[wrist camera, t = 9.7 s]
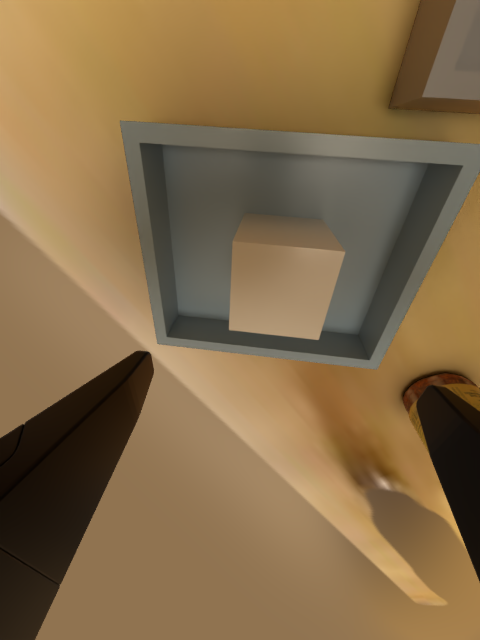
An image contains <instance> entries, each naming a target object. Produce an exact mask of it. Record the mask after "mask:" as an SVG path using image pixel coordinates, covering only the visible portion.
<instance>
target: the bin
mask: <svg viewBox="0 0 480 640" xmlns="http://www.w3.org/2000/svg"><path fill="white" fill-rule="evenodd" d="M120 126H121V132H122V137H123V143H124V149H125V155H126V161H127V167H128V173H129V179H130V185H131V191H132V196H133V202H134V208H135V214H136V220H137V226H138V232H139V238H140V244H141V250H142V256H143V261H144V267H145V273H146V279H147V285H148V291H149V297H150V303H151V309H152V315H153V320H154V326H155V332H156V338H157V344H161V345H170V346H178V347H187V348H196V349H204V350H213V351H221V352H230V353H239V354H247V355H256V356H264V357H273V358H282V359H290V360H299V361H308V362H316V363H325V364H333V365H342V366H351V367H359V368H368V369H376V370H377V369H378V367H379V365H380V363H381V361H382V359H383V357H384V355H385V353H386V351H387V349H388V347H389V346H390V344H391V342H392V340H393V338H394V336H395V334H396V332H397V330H398V328H399V326H400V324H401V322H402V320H403V319H404V317H405V315H406V313H407V311H408V309H409V307H410V305H411V303H412V301H413V299H414V297H415V295H416V293H417V292H418V290H419V288H420V286H421V284H422V282H423V280H424V278H425V276H426V274H427V272H428V270H429V268H430V266H431V265H432V263H433V261H434V259H435V257H436V255H437V253H438V251H439V249H440V247H441V245H442V243H443V241H444V239H445V238H446V236H447V234H448V232H449V230H450V228H451V226H452V224H453V222H454V220H455V218H456V216H457V214H458V212H459V211H460V209H461V207H462V205H463V203H464V201H465V199H466V197H467V195H468V193H469V191H470V189H471V187H472V185H473V183H474V182H475V180H476V178H477V176H478V174H479V172H480V144H470V143H455V142H440V141H424V140H409V139H394V138H379V137H363V136H348V135H333V134H318V133H302V132H287V131H272V130H257V129H241V128H226V127H211V126H196V125H180V124H165V123H150V122H135V121H120ZM245 213H251V214H263V215H274V216H286V217H298V218H310V219H321V220H324V222H325V223H326V225H327V226H328V227H329V229H330V230H331V232H332V233H333V235H334V236H335V237H336V239H337V240H338V242H339V243H340V245H341V246H342V247H343V249H344V250H345V255H344V258H343V262H342V265H341V268H340V271H339V275H338V278H337V281H336V285H335V288H334V291H333V294H332V298H331V301H330V304H329V308H328V311H327V314H326V317H325V321H324V324H323V327H322V331H321V334H320V337H319V340H314V339H305V338H296V337H287V336H278V335H269V334H260V333H251V332H242V331H233V330H229V316H230V291H231V267H232V243H233V239H234V237H235V235H236V232H237V230H238V228H239V225H240V223H241V221H242V218H243V216H244V214H245Z"/></svg>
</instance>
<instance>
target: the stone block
mask: <svg viewBox="0 0 480 640" xmlns="http://www.w3.org/2000/svg"><path fill="white" fill-rule="evenodd" d="M344 255H345V250H344V249H343V247H342V246H341V245H340V243H339V242H338V240H337V239H336V237H335V236H334V235H333V233H332V232H331V230H330V229H329V227H328V226H327V225H326V223H325V222H324V220H321V219H310V218H298V217H286V216H274V215H263V214H251V213H245V214H244V216H243V218H242V221H241V223H240V225H239V228H238V230H237V232H236V235H235V237H234V239H233V243H232V267H231V291H230V316H229V330H233V331H242V332H251V333H260V334H269V335H278V336H287V337H296V338H305V339H314V340H319V337H320V334H321V331H322V327H323V324H324V321H325V317H326V314H327V311H328V308H329V304H330V301H331V298H332V294H333V291H334V288H335V285H336V281H337V278H338V275H339V271H340V268H341V265H342V262H343V258H344Z"/></svg>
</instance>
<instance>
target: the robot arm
mask: <svg viewBox="0 0 480 640" xmlns="http://www.w3.org/2000/svg"><path fill="white" fill-rule="evenodd" d="M153 374H154V368H153V363H152V357H151V354H150V352H147V351H136V352H134V353H133V354H131V355H130V356H128V357H126V358H125V359H123V360H122V361H120V362H119V363H117V364H115V365H114V366H112V367H111V368H109V369H108V370H106V371H105V372H103V373H101V374H100V375H98V376H97V377H96V378H94V379H92V380H90V381H89V382H88V383H86V384H84V385H83V386H81V387H80V388H78V389H76V390H75V391H74V392H72V393H70V394H69V395H67V396H66V397H64V398H62V399H61V400H59V401H58V402H56V403H55V404H53V405H52V406H50V407H48V408H47V409H45V410H44V411H42V412H41V413H39V414H37V415H36V416H34V417H33V418H31V419H30V420H28V421H27V422H26V423H25V425H24V424H22V425H20V426H19V427H17V428H15V429H14V430H12V431H11V432H9V433H8V434H6V435H5V436H3V437H1V438H0V640H35V638H36V636H37V634H38V632H39V630H40V628H41V626H42V623H43V621H44V619H45V617H46V615H47V613H48V611H49V609H50V606H51V604H52V602H53V600H54V598H55V596H56V594H57V592H58V589H59V586H60V584H61V582H62V580H63V578H64V576H65V574H66V572H67V570H68V567H69V565H70V563H71V561H72V559H73V557H74V555H75V553H76V550H77V548H78V546H79V544H80V542H81V540H82V538H83V536H84V533H85V531H86V529H87V527H88V525H89V523H90V521H91V518H92V516H93V514H94V512H95V510H96V508H97V506H98V503H99V501H100V499H101V497H102V495H103V493H104V491H105V488H106V487H107V484H108V482H109V480H110V478H111V476H112V474H113V472H114V469H115V467H116V465H117V463H118V461H119V459H120V457H121V455H122V452H123V450H124V448H125V446H126V444H127V442H128V439H129V437H130V435H131V433H132V431H133V429H134V427H135V425H136V422H137V420H138V418H139V415H140V413H141V410H142V407H143V404H144V401H145V398H146V395H147V392H148V389H149V386H150V383H151V380H152V377H153ZM416 409H417V412H418V416H419V419H420V423H421V426H422V430H423V434H424V437H425V441H426V444H427V448H428V451H429V454H430V457H431V460H432V462H433V465H434V468H435V470H436V473H437V475H438V478H439V480H440V483H441V485H442V488H443V490H444V493H445V495H446V498H447V501H448V503H449V506H450V508H451V511H452V513H453V516H454V518H455V521H456V523H457V526H458V528H459V531H460V533H461V536H462V538H463V541H464V543H465V546H466V549H467V551H468V554H469V556H470V559H471V561H472V564H473V566H474V569H475V571H476V574H477V576H478V579H479V581H480V411H479V410H477V409H476V408H475V407H473V406H472V405H470V404H469V403H468V402H466V401H465V400H463V399H462V398H461V397H459V396H458V395H456V394H455V393H454V392H452V391H451V390H449V389H448V388H446V387H444V386H438V385H429V386H427V387H426V389H425V390H424V392H423V393H422V394H421V396H420V397H419V399H418V400H417V403H416Z"/></svg>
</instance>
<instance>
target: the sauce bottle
mask: <svg viewBox="0 0 480 640" xmlns="http://www.w3.org/2000/svg"><path fill="white" fill-rule="evenodd" d="M429 385H438V386H444V387H446V388H448V389H449V390H451V391H452V392H454V393H455V394H456V395H458V396H459V397H461V398H462V399H463V400H465V401H466V402H468V403H469V404H470V405H472V406H473V407H475V408H476V409H477V410H479V411H480V388H478V387H477V386H476V385H475V384H474V383H473V382H472V381H470V380H468V379H466V378H464V377H462V376H458V375H456V374H448V373H443V374H438V375H434V376H431V377H427V378H424V379H421V380H419V381H417V382H416V383H414V384H413V385H411V386H410V388H409V389H408V390H407V391H406V392H405V394H404V397H403V402H404V405H405V408H406V410H407V412H408V413H409V418H410V421H411V422H412V424H413V426H414V428H415V430H416V431H417V433H418V435H419V437H420V438H421V440H422V442H423V444H424V446H425V447H426V449H427V451H428V448H427V444H426V441H425V437H424V434H423V430H422V426H421V423H420V419H419V416H418V412H417V409H416V403H417V400H418V399H419V397H420V396H421V394H422V393H423V392H424V390H425V389H426V387H427V386H429ZM428 453H429V451H428ZM429 455H430V454H429Z"/></svg>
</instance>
